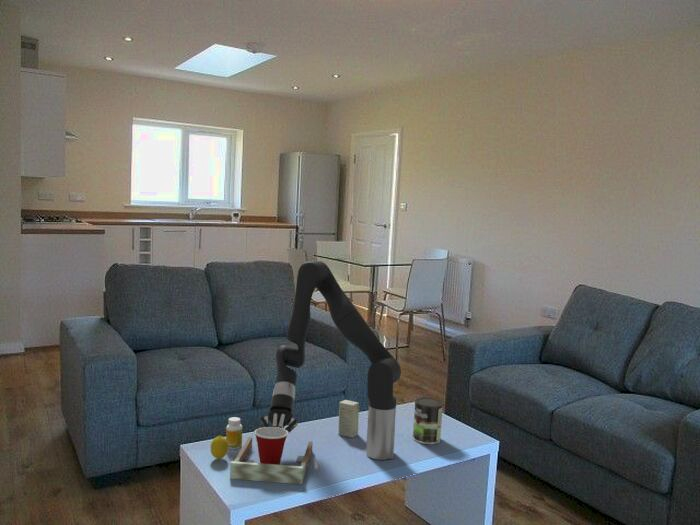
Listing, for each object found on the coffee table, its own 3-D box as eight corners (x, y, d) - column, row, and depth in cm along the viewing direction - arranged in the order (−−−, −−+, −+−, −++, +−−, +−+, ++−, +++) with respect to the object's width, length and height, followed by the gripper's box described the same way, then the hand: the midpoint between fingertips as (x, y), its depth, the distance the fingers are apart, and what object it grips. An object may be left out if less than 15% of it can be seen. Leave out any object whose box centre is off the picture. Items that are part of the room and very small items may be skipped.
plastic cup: (292, 463, 196) (293, 427, 195) (279, 477, 185) (281, 439, 184) (261, 457, 199) (262, 422, 197) (247, 471, 188) (248, 434, 187)
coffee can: (426, 446, 214) (428, 408, 213) (406, 437, 223) (409, 399, 221) (446, 441, 221) (449, 403, 219) (427, 431, 229) (429, 395, 227)
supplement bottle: (238, 450, 204) (239, 422, 203) (223, 448, 205) (224, 420, 204) (244, 444, 209) (245, 417, 208) (229, 442, 210) (230, 415, 209)
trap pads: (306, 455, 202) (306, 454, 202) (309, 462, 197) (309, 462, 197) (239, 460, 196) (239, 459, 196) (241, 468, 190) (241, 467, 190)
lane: (312, 451, 206) (312, 437, 205) (301, 484, 182) (302, 468, 181) (248, 446, 207) (248, 432, 206) (229, 478, 183) (230, 462, 182)
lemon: (212, 464, 192) (213, 440, 191) (208, 457, 197) (209, 433, 196) (229, 461, 195) (230, 437, 194) (225, 454, 200) (225, 431, 199)
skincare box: (358, 434, 222) (360, 402, 221) (352, 438, 219) (353, 405, 218) (343, 430, 226) (345, 398, 225) (337, 434, 222) (338, 401, 221)
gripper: (262, 391, 205) (253, 440, 194) (301, 394, 204) (293, 443, 193) (265, 401, 210) (256, 449, 200) (303, 404, 210) (295, 452, 199)
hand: (274, 446), depth 196 cm, fingers closed
